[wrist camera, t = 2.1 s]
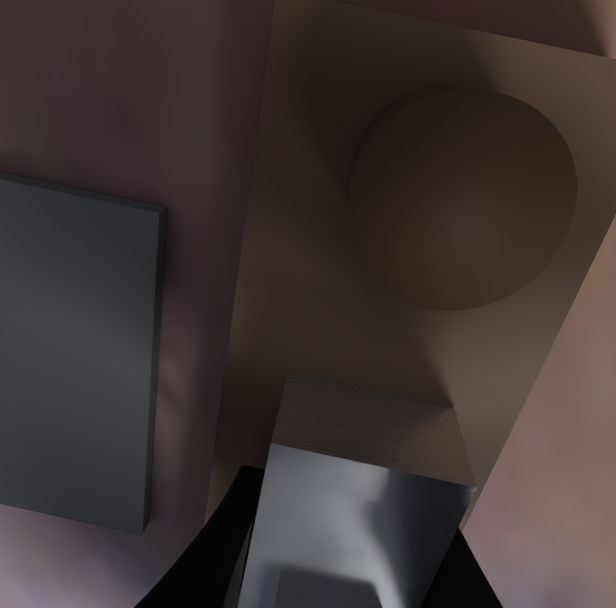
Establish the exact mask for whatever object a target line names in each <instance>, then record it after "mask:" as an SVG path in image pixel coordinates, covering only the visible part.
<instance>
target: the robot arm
mask: <svg viewBox="0 0 616 608" xmlns="http://www.w3.org/2000/svg"><path fill="white" fill-rule="evenodd" d="M264 474H265V469H260V468H256V467H251V466H246V465H244V466H242V467H240V469H239V471H238V473H237V475H236V477H235V479H234V481H233V483H232V485H231V486H230V488H229V490H228V492H227V493H226V495H225V496H224V498H223V500H222V501H221V503H220V504H219V506H218V507H217V509H216V510H215V512H214V513H213V514H212V516H211V517H210V519H209V520H208V521H207V523H206V524H205V526H204V527H203V528H202V530H201V531H200V533H199V534H198V535H197V537H196V538H195V539H194V540H193V542H192V543H191V544H190V545H189V546H188V548H187V549H186V550H185V551H184V553H183V554H182V555H181V556H180V558H179V559H178V560H177V561H176V563H175V564H174V565H173V566H172V567H171V568H170V570H169V571H168V572H167V573H166V574H165V575H164V576H163V577H162V579H161V580H160V581H159V582H158V583H157V584H156V585H155V586H154V587H153V588H152V589H151V591H150V592H149V593H148V594H147V595H146V596H145V597H144V598H143V599H142V600H141V601H140V602H139V603H138V604H137V605H136V606H135V607H134V608H235V605H236V602H237V599H238V596H239V592H240V589H241V586H242V583H243V579H244V574H245V569H246V564H247V559H248V554H249V549H250V544H251V539H252V534H253V529H254V524H255V519H256V514H257V509H258V504H259V499H260V494H261V489H262V484H263V479H264ZM420 608H503V607H502V605H501V603H500V601H499V600H498V598H497V596H496V595H495V593H494V591H493V589H492V588H491V586H490V584H489V582H488V581H487V579H486V577H485V575H484V574H483V572H482V570H481V568H480V566H479V564H478V563H477V561H476V559H475V557H474V555H473V553H472V551H471V549H470V548H469V546H468V544H467V542H466V540H465V538H464V536H463V534H462V532H461V530H460V528H459V527H458V529H457V531H456V533H455V535H454V537H453V539H452V541H451V543H450V546H449V548H448V550H447V552H446V554H445V556H444V558H443V560H442V562H441V565H440V567H439V569H438V571H437V573H436V575H435V577H434V579H433V581H432V583H431V586H430V588H429V590H428V592H427V594H426V596H425V598H424V600H423V602H422V604H421V607H420Z"/></svg>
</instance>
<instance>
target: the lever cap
mask: <svg viewBox="0 0 616 608" xmlns="http://www.w3.org/2000/svg"><path fill="white" fill-rule="evenodd" d="M476 489H477V486H476V482H475V479H474V475H473V472H472V468H471V465H470V461H469V458H468V454H467V451H466V447H465V443H464V440H463V436H462V433H461V429H460V426H459V422H458V419H457V415H456V412H455V408H454V406H450V405H446V404H441V403H436V402H432V401H427V400H423V399H418V398H413V397H409V396H404V395H399V394H395V393H390V392H385V391H381V390H376V389H371V388H367V387H362V386H357V385H353V384H348V383H344V382H339V381H334V380H330V379H325V378H320V377H316V376H311V375H306V374H302V373H297V372H292V371H288V375H287V379H286V383H285V387H284V391H283V395H282V399H281V403H280V407H279V411H278V416H277V420H276V424H275V428H274V432H273V436H272V440H271V444H270V449H269V454H268V459H267V464H266V469H265V474H264V479H263V484H262V489H261V494H260V499H259V504H258V509H257V514H256V519H255V524H254V529H253V534H252V539H251V544H250V549H249V554H248V559H247V564H246V569H245V574H244V579H243V584H242V589H241V594H240V599H239V604H238V608H420V607H421V604H422V602H423V600H424V598H425V596H426V594H427V592H428V590H429V588H430V586H431V583H432V581H433V579H434V577H435V575H436V573H437V571H438V569H439V567H440V565H441V562H442V560H443V558H444V556H445V554H446V552H447V550H448V548H449V546H450V543H451V541H452V539H453V537H454V535H455V533H456V531H457V529H458V527H459V525H460V522H461V520H462V518H463V516H464V514H465V512H466V510H467V508H468V506H469V504H470V501H471V499H472V497H473V495H474V493H475V491H476Z"/></svg>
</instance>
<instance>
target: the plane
mask: <svg viewBox="0 0 616 608" xmlns="http://www.w3.org/2000/svg"><path fill="white" fill-rule="evenodd" d="M615 214H616V59H612V58H607V57H603V56H598V55H593V54H588V53H583V52H579V51H574V50H569V49H564V48H560V47H555V46H550V45H545V44H541V43H536V42H531V41H526V40H521V39H517V38H512V37H507V36H502V35H498V34H493V33H488V32H483V31H479V30H474V29H469V28H464V27H459V26H455V25H450V24H445V23H440V22H436V21H431V20H426V19H421V18H417V17H412V16H407V15H402V14H397V13H393V12H388V11H383V10H378V9H374V8H369V7H364V6H359V5H355V4H350V3H345V2H340V1H335V0H274V7H273V15H272V22H271V30H270V37H269V45H268V52H267V60H266V67H265V75H264V82H263V89H262V97H261V104H260V112H259V119H258V127H257V134H256V142H255V149H254V157H253V164H252V171H251V179H250V186H249V194H248V201H247V209H246V216H245V224H244V231H243V239H242V246H241V254H240V261H239V268H238V276H237V283H236V291H235V298H234V306H233V313H232V321H231V328H230V336H229V343H228V351H227V358H226V365H225V373H224V380H223V388H222V395H221V403H220V410H219V418H218V425H217V433H216V440H215V448H214V455H213V462H212V470H211V477H210V485H209V492H208V500H207V507H206V515H205V522H204V526H205V524H206V523H207V521H208V520H209V519H210V517H211V516H212V514H213V513H214V512H215V510H216V509H217V507H218V506H219V504H220V503H221V501H222V500H223V498H224V496H225V495H226V493H227V492H228V490H229V488H230V486H231V485H232V483H233V481H234V479H235V477H236V475H237V473H238V471H239V469H240V467H242V466H244V465H246V466H251V467H256V468H260V469H266V464H267V459H268V454H269V449H270V444H271V440H272V436H273V432H274V428H275V424H276V420H277V416H278V411H279V407H280V403H281V399H282V395H283V391H284V387H285V383H286V379H287V375H288V371H292V372H297V373H302V374H306V375H311V376H316V377H320V378H325V379H330V380H334V381H339V382H344V383H348V384H353V385H357V386H362V387H367V388H371V389H376V390H381V391H385V392H390V393H395V394H399V395H404V396H409V397H413V398H418V399H423V400H427V401H432V402H436V403H441V404H446V405H450V406H454V408H455V412H456V415H457V419H458V422H459V426H460V429H461V433H462V436H463V440H464V443H465V447H466V451H467V454H468V458H469V461H470V465H471V468H472V472H473V475H474V479H475V482H476V486H477V489H476V491H475V493H474V495H473V497H472V499H471V501H470V504H469V506H468V508H467V510H466V512H465V514H464V516H463V518H462V520H461V522H460V525H459V528H460V530H461V532H462V531H463V529H464V527H465V525H466V523H467V520H468V518H469V516H470V514H471V512H472V510H473V508H474V506H475V504H476V502H477V500H478V498H479V496H480V494H481V492H482V489H483V487H484V485H485V483H486V481H487V479H488V477H489V475H490V473H491V471H492V469H493V467H494V465H495V463H496V461H497V458H498V456H499V454H500V452H501V450H502V448H503V446H504V444H505V442H506V440H507V438H508V436H509V434H510V432H511V429H512V427H513V425H514V423H515V421H516V419H517V417H518V415H519V413H520V411H521V409H522V407H523V405H524V403H525V401H526V398H527V396H528V394H529V392H530V390H531V388H532V386H533V384H534V382H535V380H536V378H537V376H538V374H539V372H540V370H541V367H542V365H543V363H544V361H545V359H546V357H547V355H548V353H549V351H550V349H551V347H552V345H553V343H554V341H555V338H556V336H557V334H558V332H559V330H560V328H561V326H562V324H563V322H564V320H565V318H566V316H567V314H568V312H569V310H570V307H571V305H572V303H573V301H574V299H575V297H576V295H577V293H578V291H579V289H580V287H581V285H582V283H583V281H584V278H585V276H586V274H587V272H588V270H589V268H590V266H591V264H592V262H593V260H594V258H595V256H596V254H597V252H598V250H599V247H600V245H601V243H602V241H603V239H604V237H605V235H606V233H607V231H608V229H609V227H610V225H611V223H612V221H613V219H614V216H615ZM242 584H243V583H242ZM241 589H242V586H241ZM241 589H240V592H239V596H238V599H237V602H236V605H235V608H238V604H239V599H240V594H241Z"/></svg>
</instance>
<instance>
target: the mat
mask: <svg viewBox="0 0 616 608" xmlns="http://www.w3.org/2000/svg"><path fill="white" fill-rule="evenodd" d="M167 211H168V207H164V206H159V205H154V204H150V203H145V202H140V201H136V200H131V199H126V198H121V197H117V196H112V195H107V194H103V193H98V192H93V191H89V190H84V189H79V188H75V187H70V186H65V185H61V184H56V183H51V182H46V181H42V180H37V179H32V178H28V177H23V176H18V175H14V174H9V173H4V172H0V504H4V505H8V506H13V507H17V508H22V509H27V510H31V511H36V512H40V513H45V514H49V515H54V516H59V517H63V518H68V519H72V520H77V521H82V522H86V523H91V524H95V525H100V526H104V527H109V528H114V529H118V530H123V531H127V532H132V533H137V534H141V535H142V534H143V532H144V530H145V528H146V526H147V524H148V522H149V512H150V495H151V478H152V462H153V445H154V428H155V412H156V395H157V378H158V362H159V345H160V328H161V312H162V295H163V278H164V262H165V245H166V228H167Z"/></svg>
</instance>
